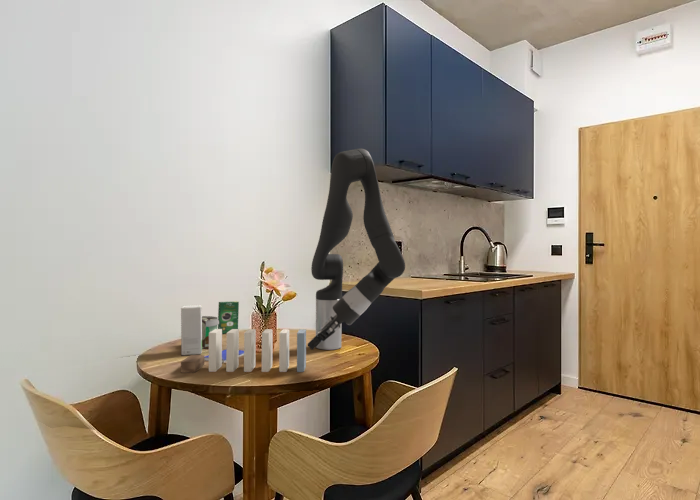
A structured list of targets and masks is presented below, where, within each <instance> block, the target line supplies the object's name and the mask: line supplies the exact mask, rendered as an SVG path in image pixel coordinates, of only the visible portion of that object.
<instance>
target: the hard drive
mask: <svg viewBox="0 0 700 500" xmlns="http://www.w3.org/2000/svg"><path fill="white" fill-rule="evenodd" d="M242 356H244V349H243V350H241V349H239V358H240V357H242ZM204 361H206V362H207V361H208V362H209V354H207V355H204ZM223 363H226V349H224V350H223V349H222V364H223Z"/></svg>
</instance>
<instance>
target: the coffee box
mask: <svg viewBox="0 0 700 500" xmlns="http://www.w3.org/2000/svg"><path fill="white" fill-rule="evenodd" d="M239 304H240V301H237V300H235V301H218V308H217V311H218V313H217V318H218V320H219V324H218V325H217V329H222V335H225V333H226V334H227V332H229V331H230V330H232V329H239V314H240V312H239V307H240V305H239Z"/></svg>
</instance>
